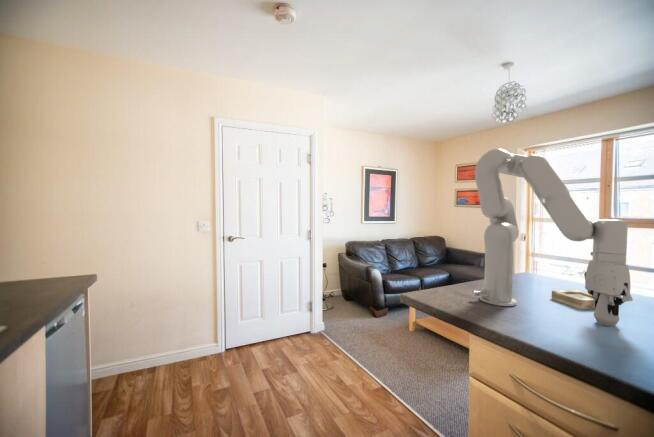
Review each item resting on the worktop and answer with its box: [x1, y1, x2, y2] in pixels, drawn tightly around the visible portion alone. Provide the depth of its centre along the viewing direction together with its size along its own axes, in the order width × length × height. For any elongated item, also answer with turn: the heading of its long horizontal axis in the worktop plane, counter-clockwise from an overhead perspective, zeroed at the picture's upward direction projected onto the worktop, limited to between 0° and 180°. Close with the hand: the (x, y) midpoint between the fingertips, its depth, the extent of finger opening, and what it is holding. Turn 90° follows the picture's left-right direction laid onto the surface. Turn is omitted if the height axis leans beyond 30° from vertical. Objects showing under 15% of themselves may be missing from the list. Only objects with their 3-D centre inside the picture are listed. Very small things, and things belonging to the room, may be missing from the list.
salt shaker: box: [593, 293, 620, 328], centre depth 89 cm, size 6×6×13 cm
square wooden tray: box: [551, 289, 595, 310], centre depth 109 cm, size 12×12×3 cm
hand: (606, 314), depth 90 cm, fingers closed on salt shaker, 3 cm apart
